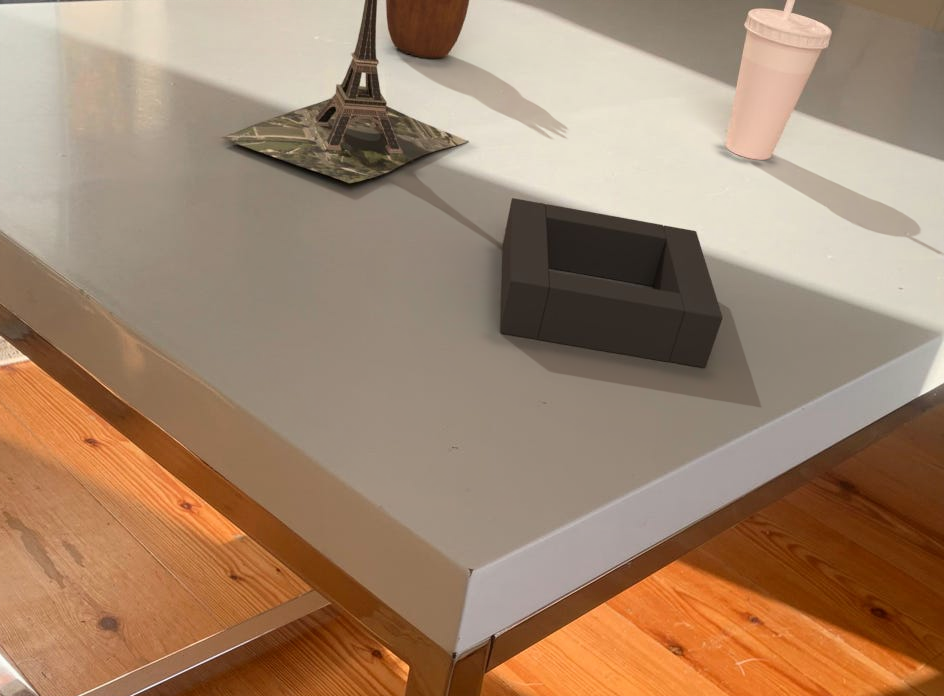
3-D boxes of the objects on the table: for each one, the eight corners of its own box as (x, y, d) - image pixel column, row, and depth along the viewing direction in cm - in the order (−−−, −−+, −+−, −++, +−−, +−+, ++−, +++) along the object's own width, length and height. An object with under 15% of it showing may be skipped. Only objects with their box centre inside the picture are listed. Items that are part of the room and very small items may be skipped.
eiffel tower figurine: (350, 98, 83) (370, -107, 74) (469, 141, 80) (504, -67, 71) (220, 143, 72) (227, -91, 63) (353, 195, 69) (378, -43, 60)
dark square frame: (681, 277, 68) (696, 230, 66) (705, 368, 59) (723, 317, 57) (502, 245, 67) (511, 197, 65) (499, 333, 58) (510, 280, 56)
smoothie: (694, 133, 90) (751, -60, 81) (760, 136, 92) (822, -51, 84) (735, 165, 85) (800, -35, 77) (803, 167, 88) (874, -27, 79)
